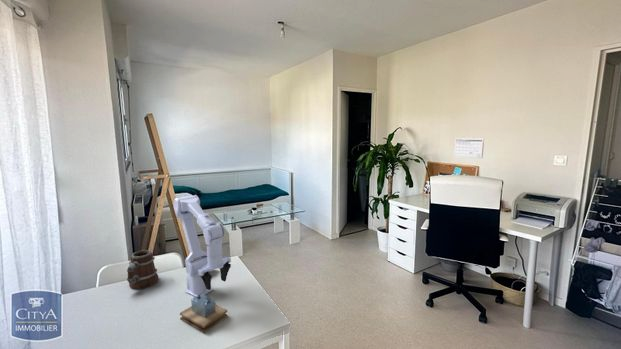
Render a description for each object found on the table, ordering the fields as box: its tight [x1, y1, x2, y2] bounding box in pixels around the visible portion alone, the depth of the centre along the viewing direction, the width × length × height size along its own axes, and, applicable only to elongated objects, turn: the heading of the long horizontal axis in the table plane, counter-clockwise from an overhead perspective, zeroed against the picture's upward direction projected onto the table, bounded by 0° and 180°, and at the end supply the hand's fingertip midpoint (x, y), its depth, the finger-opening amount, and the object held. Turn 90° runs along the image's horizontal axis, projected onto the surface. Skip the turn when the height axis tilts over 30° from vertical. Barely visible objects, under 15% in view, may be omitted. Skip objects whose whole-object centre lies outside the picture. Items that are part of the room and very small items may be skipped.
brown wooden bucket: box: [126, 249, 159, 290], centre depth 131 cm, size 16×12×15 cm
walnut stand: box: [179, 303, 229, 334], centre depth 108 cm, size 14×11×3 cm
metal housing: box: [190, 293, 216, 318], centre depth 108 cm, size 5×8×6 cm, turn 58°
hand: (216, 284), depth 115 cm, fingers open, 7 cm apart
